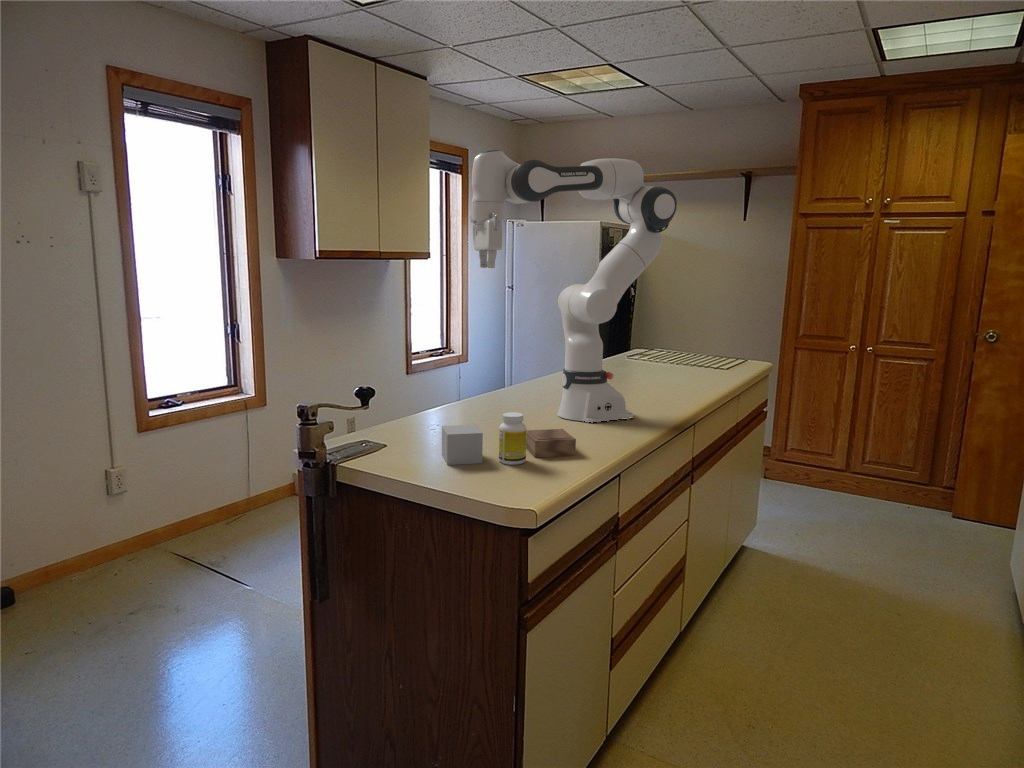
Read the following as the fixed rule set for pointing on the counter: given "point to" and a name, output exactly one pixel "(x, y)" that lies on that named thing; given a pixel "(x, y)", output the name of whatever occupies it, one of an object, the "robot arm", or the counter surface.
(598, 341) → the robot arm
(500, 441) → the pill bottle
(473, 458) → the grey pedestal
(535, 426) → the counter surface
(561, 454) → the walnut base
